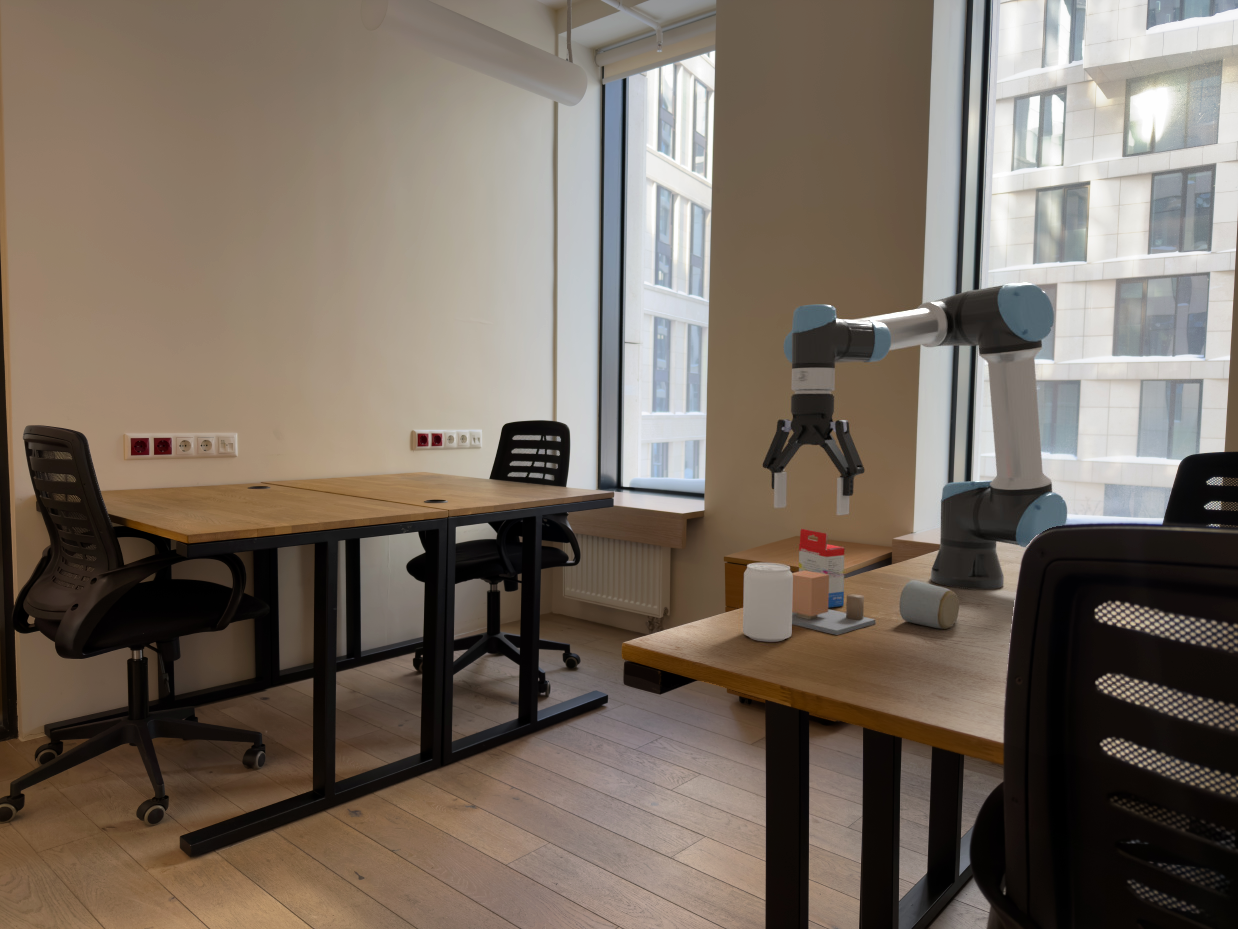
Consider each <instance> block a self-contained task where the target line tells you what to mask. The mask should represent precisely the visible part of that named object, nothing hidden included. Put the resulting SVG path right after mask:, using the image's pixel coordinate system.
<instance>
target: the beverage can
mask: <svg viewBox="0 0 1238 929" xmlns="http://www.w3.org/2000/svg"><path fill="white" fill-rule="evenodd" d="M746 567H747V568H746V569H745V571H744V572H743V605H742V606H743V610H742V611H743V612H742V614H743V616H742V632H743V635H745V636H747V637H748V638H750V639H751V640H755V641H759V642H767V643H768V642H770V643H774V642H776V643H777V642H781V641H785V639H788V638H790V637H792V632H793V630H792V627H793V624H792V594H793V574H792V573H793V572H792V571H791V566H790V565H787V564H784V563H776V562H753V563H748V564H747V565H746Z"/></svg>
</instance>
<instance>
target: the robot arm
mask: <svg viewBox="0 0 1238 929" xmlns="http://www.w3.org/2000/svg"><path fill="white" fill-rule="evenodd" d="M1053 308H1054V307H1053V305H1052V302H1051V300H1050V298H1049V296H1048V295H1047V293H1046V292H1045V291H1043V289H1042V288H1041V287H1040V286H1038V285H1036V284H1034V283H1029V282H1019V283H1017V282H1016V283H1007V284H1002V285H998V286H997V285H996V286H991V287H984V288H980V289H973V290H967V291H964V292H960V293H957V294H954V295H951V296H946V297H945V298H940V299H937V300H933V301H928V302H924V303H921V304H920V305H919V306H917V308H915V309H914V308H913V309H909V310H903V311H897V312H890V313H884V314H880V315H873V316H872V315H871V316H867V317H861V318H854V319H845V318H843V319H842V318H838V315H837V309H836V307H835V306H833V305H830V304H806V305H805V304H804V305H800V306H797V307H796V308H795V309H794V310H793V316H792V325H791V327H792V328H791V331H790V332H788V334H786V336H785V338H784V341H783V352H784V353H783V354H784V355H785V358H786V359H787V361H788V362H789V363H790V364H791V391H792V392H794V393H793V394H792V395H791V397H790V413H791V415H792V419H791V420H790V419H778V420H777V422H776V431H775V433H774V436H773V438H772V441H771V444H770V446H769V448H768V451H767V453H766V455H765V457H764V460H763V462H762V468H763V469H766V470H769V471H770V472H771V486H770V487H771V489H772V490H773V491H774V493H773V508H774V509H781V508H786V507H787V485H788V484H787V481H788V480H787V479H788V478H787V477H788V472H785V471H786V469H785V468H786V467H787V466H788V464H789V463H790V461H791V460H792V459H793V458H794V456H795V455H796V453H797V452H798V450H799V449H800V448H801V447H802V446H804V445H812V446H820V448H822V449H823V451H824V452H825V453H826V454H827V456H828V458H829V459H830V461H831V462H832V463H833V465H834V467H836V469H837V471H838V472H839V474H840V475H839V477H837V479H836V480H837V481H836V482H837V483H836V516H844V515H849V514H850V496H853V495H854V482H855V477H856V476H858V475H862V474H864V473H865V467H864V464H863V462H862V460H861V457H860V454H859V453H858V450H857V447H856V445H855V443H854V440H853V438H852V435H851V432H850V423H849V421H848V420H846V419H838V420H836V421H834V420H833V415H834V413H835V395H834V394H832V392H834V391H835V387H836V386H835V385H836V384H835V382H836V381H835V380H836V379H835V378H836V376H835V375H836V374H835V373H836V364H840V363H852V362H853V363H854V362H863V363H870V362H871V363H872V362H873V363H875V362H881V361H882V360H883V359H885V357H886V356H887V355H888V353H889V352H890V351H894V350H899V349H905V348H910V347H916V346H920V345H921V346H923V347H925V348H936V347H944V346H945V347H946V346H947V347H949V346H953V347H954V346H958V347H959V346H963V347H964V346H965V347H967V346H968V347H969V346H970V347H971V346H972V347H975V346H978V355H979V357H981V358H982V359H983V360H984V361H986V363H987V366H988V378H989V379H988V380H989V393H990V405H991V415H992V430H993V444H994V454H995V455H994V456H995V467H996V476H995V477H994V479H992V480H975V481H955V482H948V483H946V484H944V486H943V488H942V492H941V499H940V539H939V540H940V544H939V549H938V551H937V554H936V556H935V557H936V558H935V559H934V562H933V565H932V566H931V570H930V580H931V581H932V582H934V583H936V584H939V585H942V586H948V587H953V588H961V589H970V590H971V589H972V590H994V589H1000V588H1002V587H1004V581H1005V579H1004V578H1005V577H1004V573H1003V569H1002V567H1001V563H1000V560H999V556H998V552H997V543H998V542H999V543H1004V544H1009V545H1013V546H1015V545H1016V546H1020V547H1022V548H1027V547H1026V546H1027V545H1028V544H1029V543H1030V541H1031V540H1032V539H1033V538H1034V537H1035V536H1036V535H1038V534H1040V533H1042V532H1043V531H1045V530H1047V529H1049V528H1052V527H1056V526H1062V525H1065V526H1066V524H1067V520H1068V519H1067V518H1068V506H1067V503H1066V500H1065V499H1064V498H1063V496H1061V495H1060V494H1059V493H1057V492H1055V491H1054V492H1053V484H1052V483H1053V482H1052V480H1051V478H1050V477H1048V476H1047V475H1045V473H1044V472H1043V461H1042V459H1043V458H1042V444H1041V434H1040V419H1039V416H1040V415H1039V403H1038V391H1037V378H1036V376H1037V375H1036V365H1035V362H1036V361H1035V358H1036V356H1037V354H1038V353H1039V352H1040V351H1041V350H1043V342H1042V341H1043V339H1045V338H1046V337H1048V335H1050V333H1051V331H1052V327H1053V325H1054V321H1055V320H1054V319H1055V314H1054V309H1053ZM791 431H792V432H793V434H792V435H791V436H790V438H789V439H788V437H789V435H790V432H791ZM832 432H834V434H835V435H836V438H837V440H836V439H835V438H834V437H833V435H832ZM837 441H838V444H839V446H840V447H839V446H838V444H837ZM786 442H787V444H786ZM840 448H841V449H840Z"/></svg>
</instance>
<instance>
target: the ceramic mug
mask: <svg viewBox="0 0 1238 929" xmlns="http://www.w3.org/2000/svg"><path fill="white" fill-rule="evenodd" d="M898 607H899V614H900V617H901V619H902V620H903V621H904V622H907V623H912V624H916V625H920V626H925V627H930V628H934V629H939V630H940V629H941V630H944V629H945V630H946V629H949V628H951V627H952V626H953V625H954V624H955V622H957V619H958V618H959V609H960V601H959V597H958V595H957V594H956V593H955V592H954V591H952V590H951V589H949V588H947V587H943V586H938V585H935V584H930V583H928V582H924V581H920V580H916V579H913V580H912V579H911V580H909V581H908V582H907V583H906V584H905V585H904V587H903V588H902V590H901V594H900V598H899V606H898Z"/></svg>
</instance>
